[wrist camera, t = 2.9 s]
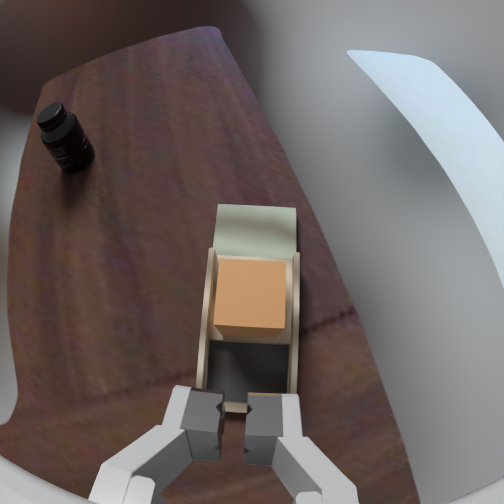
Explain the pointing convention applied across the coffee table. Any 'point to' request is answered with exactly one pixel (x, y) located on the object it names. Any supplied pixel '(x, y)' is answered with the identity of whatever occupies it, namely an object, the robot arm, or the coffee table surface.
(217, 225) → the chute
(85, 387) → the coffee table surface
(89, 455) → the coffee table surface
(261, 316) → the orange block
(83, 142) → the supplement bottle
